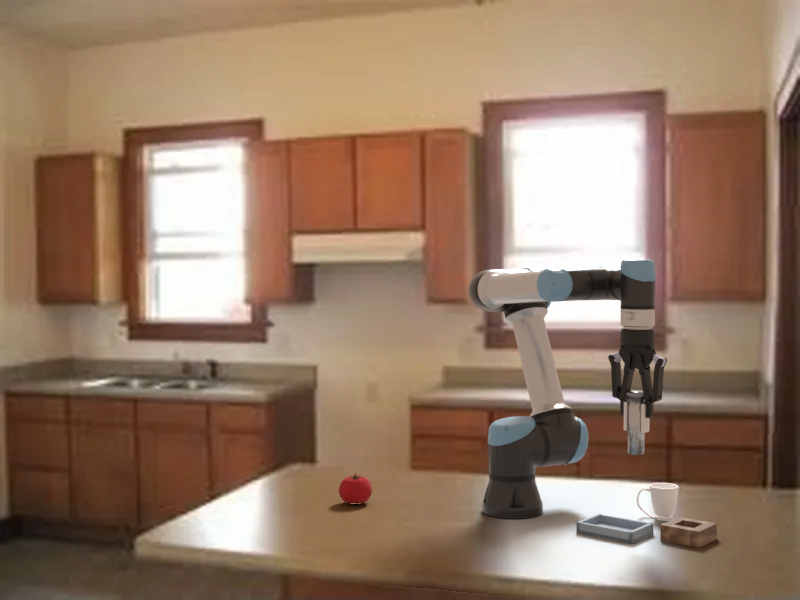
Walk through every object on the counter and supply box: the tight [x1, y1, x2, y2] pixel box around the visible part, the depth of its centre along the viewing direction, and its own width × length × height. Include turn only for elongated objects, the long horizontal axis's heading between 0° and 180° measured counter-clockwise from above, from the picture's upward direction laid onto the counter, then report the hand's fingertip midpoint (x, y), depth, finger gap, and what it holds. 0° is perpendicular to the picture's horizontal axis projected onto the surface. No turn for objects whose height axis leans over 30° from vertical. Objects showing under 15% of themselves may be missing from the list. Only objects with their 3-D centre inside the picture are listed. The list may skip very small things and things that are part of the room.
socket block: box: [659, 516, 718, 549], centre depth 205 cm, size 9×9×4 cm
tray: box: [575, 513, 654, 545], centre depth 211 cm, size 14×10×2 cm
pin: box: [626, 389, 645, 456], centre depth 209 cm, size 5×5×14 cm
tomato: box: [338, 473, 373, 504], centre depth 244 cm, size 9×9×8 cm
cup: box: [636, 482, 680, 522], centre depth 224 cm, size 7×10×8 cm
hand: (636, 430), depth 209 cm, fingers closed on pin, 4 cm apart
